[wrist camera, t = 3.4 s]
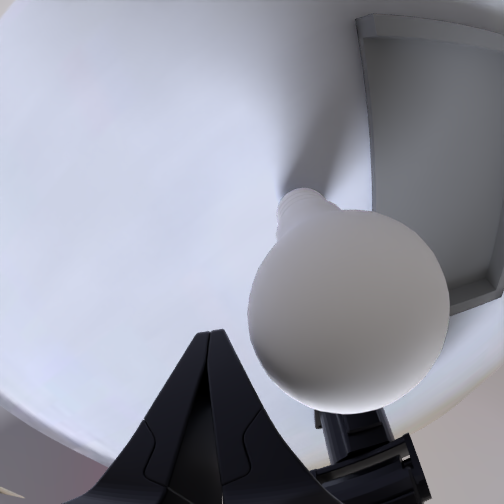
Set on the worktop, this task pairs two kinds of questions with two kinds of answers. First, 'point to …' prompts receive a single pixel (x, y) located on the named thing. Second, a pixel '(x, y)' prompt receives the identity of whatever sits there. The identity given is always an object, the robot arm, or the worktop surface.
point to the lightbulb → (346, 306)
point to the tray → (440, 143)
